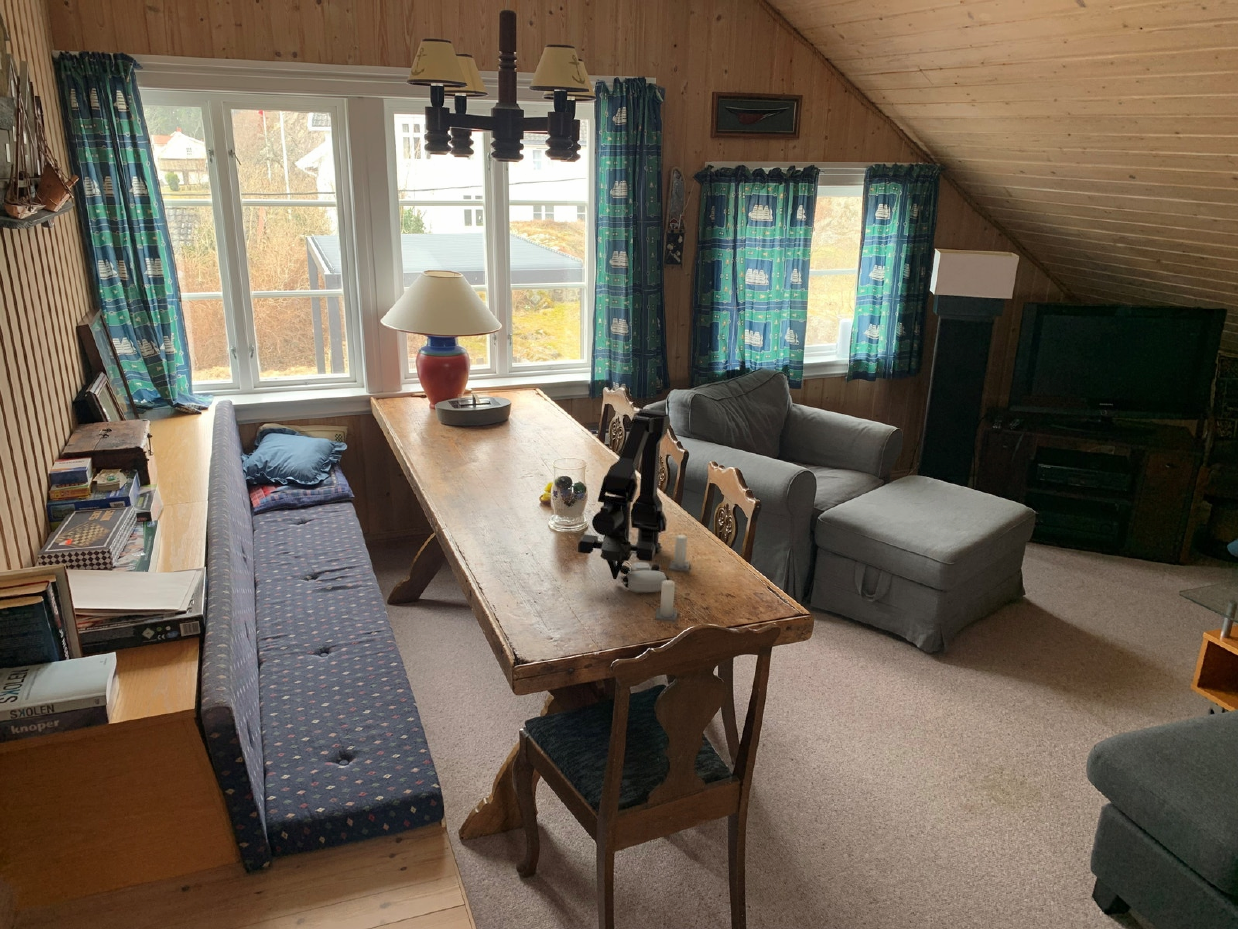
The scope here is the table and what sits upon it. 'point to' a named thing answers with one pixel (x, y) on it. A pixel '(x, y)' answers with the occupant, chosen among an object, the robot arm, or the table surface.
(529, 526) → the table surface
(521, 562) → the table surface
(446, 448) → the table surface
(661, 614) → the pair of white pegs
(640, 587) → the robot toy
